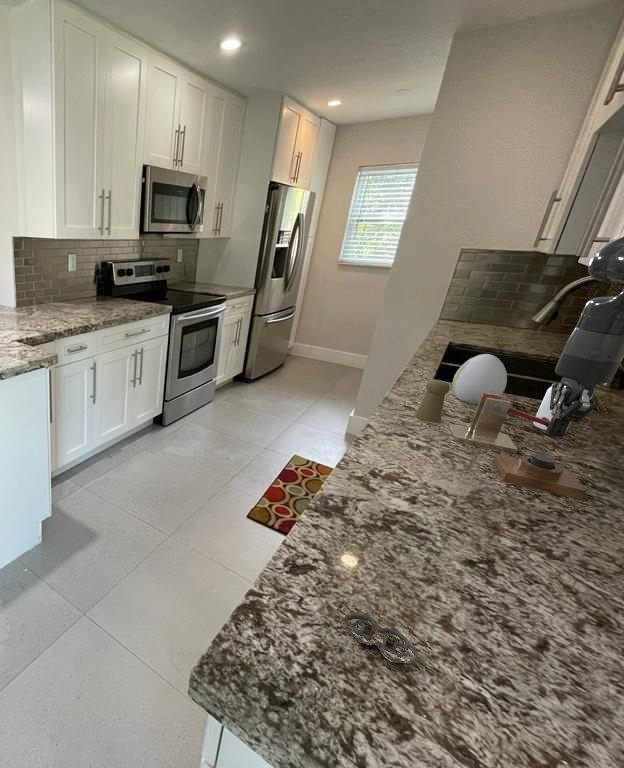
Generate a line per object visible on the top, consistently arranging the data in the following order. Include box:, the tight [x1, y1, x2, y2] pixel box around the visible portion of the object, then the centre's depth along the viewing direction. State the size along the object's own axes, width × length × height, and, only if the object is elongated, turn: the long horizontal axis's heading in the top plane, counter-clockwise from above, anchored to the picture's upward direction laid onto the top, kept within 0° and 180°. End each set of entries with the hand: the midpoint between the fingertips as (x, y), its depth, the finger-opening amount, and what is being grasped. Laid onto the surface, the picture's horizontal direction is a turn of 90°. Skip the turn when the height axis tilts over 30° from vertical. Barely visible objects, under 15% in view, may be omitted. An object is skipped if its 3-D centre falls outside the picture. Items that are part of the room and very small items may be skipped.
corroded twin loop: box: [344, 612, 419, 664], centre depth 52 cm, size 5×8×1 cm, turn 48°
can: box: [532, 383, 572, 432], centre depth 109 cm, size 6×6×12 cm
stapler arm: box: [484, 396, 550, 428], centre depth 99 cm, size 13×6×2 cm, turn 60°
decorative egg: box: [452, 353, 508, 406], centre depth 126 cm, size 12×12×15 cm
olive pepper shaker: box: [414, 379, 451, 423], centre depth 114 cm, size 6×6×11 cm
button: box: [529, 453, 557, 469], centre depth 86 cm, size 4×4×2 cm
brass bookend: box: [447, 392, 519, 454], centre depth 102 cm, size 12×9×12 cm
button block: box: [492, 453, 587, 501], centre depth 87 cm, size 12×9×4 cm
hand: (553, 435), depth 84 cm, fingers closed
